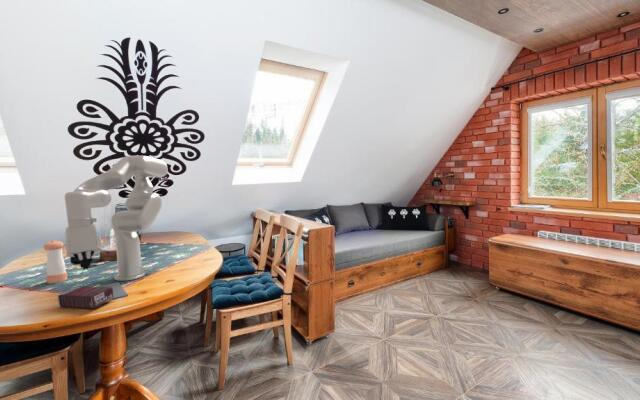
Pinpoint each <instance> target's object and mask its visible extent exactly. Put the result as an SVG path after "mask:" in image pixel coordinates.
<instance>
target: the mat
mask: <svg viewBox="0 0 640 400" xmlns="http://www.w3.org/2000/svg"><path fill="white" fill-rule="evenodd" d="M96 287H111V288H113V298H114V299H112V300H116V299H122V298H124V297H125V298H126V297H128V296H129V295H128V293H127V291H126V290H125V289H124V288H123V287H122V285H121V284H120V281H116V282H112V283H107V284H102V285H97V286H96ZM112 300H111V301H112Z"/></svg>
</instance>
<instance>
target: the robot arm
mask: <svg viewBox="0 0 640 400" xmlns="http://www.w3.org/2000/svg"><path fill="white" fill-rule="evenodd" d="M168 172H169V169H168V165H167V163H165V161H163V160H161V159H158V158H154V157H151V156H147V155H126V156H123V157H121V159H119V160H118V161H117V162H116V163H115V164H114V165H113V166H111V168H109V169H108V170H107V171H105V172H103V173H100V174H98V175H95V176H94V177H92V178H91V177H90V178H89V179H87V180H85V181H83V182H82V183H81V184H79V186H78V187H76V188H75V189H74V190H73V191H69V192H66V193H65V195H64V201H65V210H66V219H67V226H68V227H66V228H65V235H64V237H65V248H66V257H68V258H76V259H77V260H79V266H80V268H82V270H88V269H89V267H90V266H91V260H90V259H91V257H93V255H94V254H96V253H99V252H101V248H100V242H99V236H98V231H97V227H96V225H95V224H94V223H96V222H97V220H98V219H97V218H94V217H93V216H92V215H93V214H92V208H94V209H95V208H105V207H106V206H108V205H110V203H111V202H112V195H111V193H110V192H109V191H110V190H113V189H118V188H120V187H122V186H124V185H125V184H126V183H127V182H128V181H129V180H130V179H131V178H132V177H134V178H133V179H134V182H135V183H134V187H133V188H132V190H131V192H130V193H129V195H128V197H127V199H126V201H125V208H126V209H127V210H120V211H119V210H118V211H117V212H114V214H113V215H112V216H111V221H110V222H111V227H112V229H113V233H114V237H115V239H114V240H115V248H116V263H117V274H115V275H114V280H115V281H117V282H120V281H122V282H124V281H132V280H136V279H140V278H142V277H145V275H146V271H147V270H153V268H154V266H153V264H146V265H142V256H141V245H140V244H141V242H140V241H141V240H140V236H139V235H138V233H137V232H146V231H148V230H150V229H151V228H152V227H153V225H154V223H155V220H156V219H157V217H158V214H159V213H160V211H161V208H162V197H161V196H160V195H159V194H157V193H155V192H154V186H153V184H152V182H151V180H150V178H163V177H166V176H167V175H168V174H167V173H168ZM82 253H85V256H83V254H82Z"/></svg>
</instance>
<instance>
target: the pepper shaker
mask: <svg viewBox="0 0 640 400" xmlns="http://www.w3.org/2000/svg"><path fill="white" fill-rule="evenodd" d="M64 245H65V244H64V243H63V242H62V241H59V240H56V239H52V240H51V241H48V242H46V243H45V244H44V245H43V250H46V252H45V253H46V274H45V275H46V276H45V277H46V283H47V284H57V283H62V282H65V281H67V280H68V272H67V271H66V263H65V260H64V256H63V248H64Z"/></svg>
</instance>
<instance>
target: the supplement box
mask: <svg viewBox="0 0 640 400" xmlns="http://www.w3.org/2000/svg"><path fill="white" fill-rule="evenodd" d="M56 298H57V303H58V307H59V308H77V309H78V308H80V309H96V308H98V307H100V306H102V305H104V304H107V303H108V302H110V301H112V299H113V300H115V299H114V298H113V288H111V287H97V286H79V285H78V286H76V287H73V288H72V289H69V290H66V291H63V292H61V293H59V294H57V296H56Z"/></svg>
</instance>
